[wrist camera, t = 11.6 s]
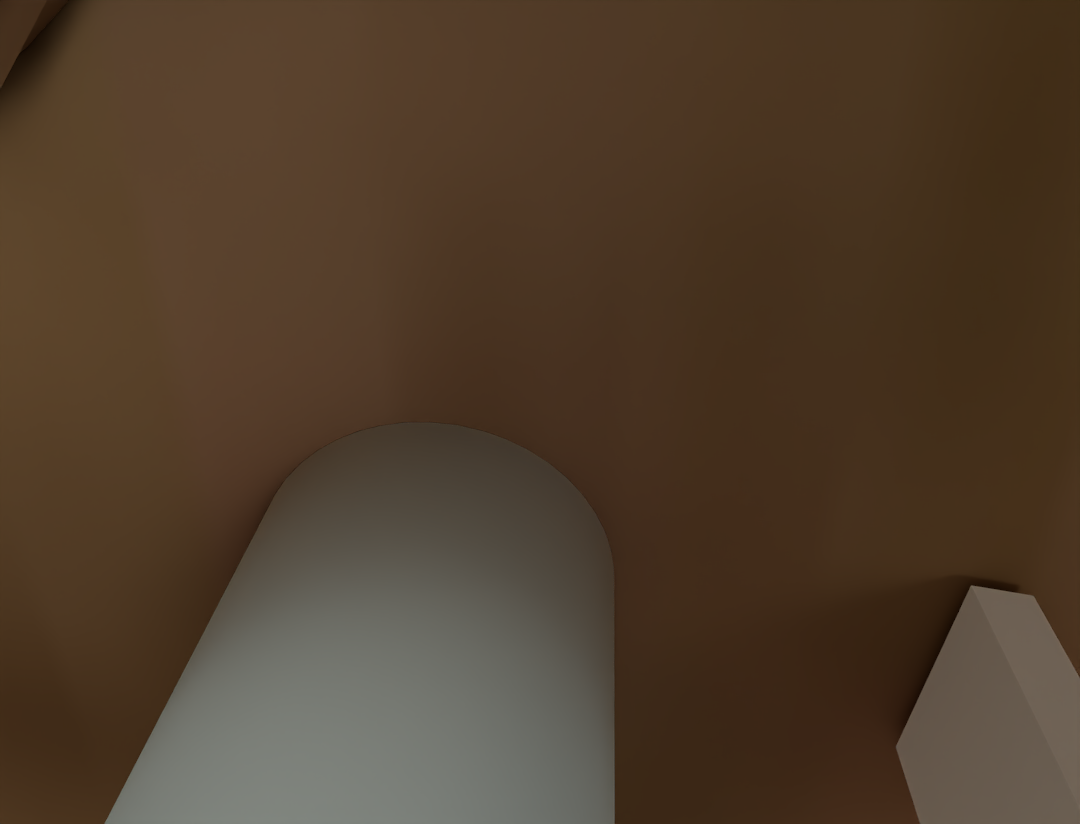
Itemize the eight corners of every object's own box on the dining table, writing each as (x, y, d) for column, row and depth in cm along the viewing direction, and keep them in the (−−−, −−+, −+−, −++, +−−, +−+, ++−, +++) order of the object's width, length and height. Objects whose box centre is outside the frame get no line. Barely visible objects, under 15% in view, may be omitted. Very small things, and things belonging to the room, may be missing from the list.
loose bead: (648, 457, 12) (677, 957, 6) (580, 730, 14) (560, 1272, 9) (264, 392, 12) (-25, 847, 6) (256, 678, 14) (36, 1193, 8)
